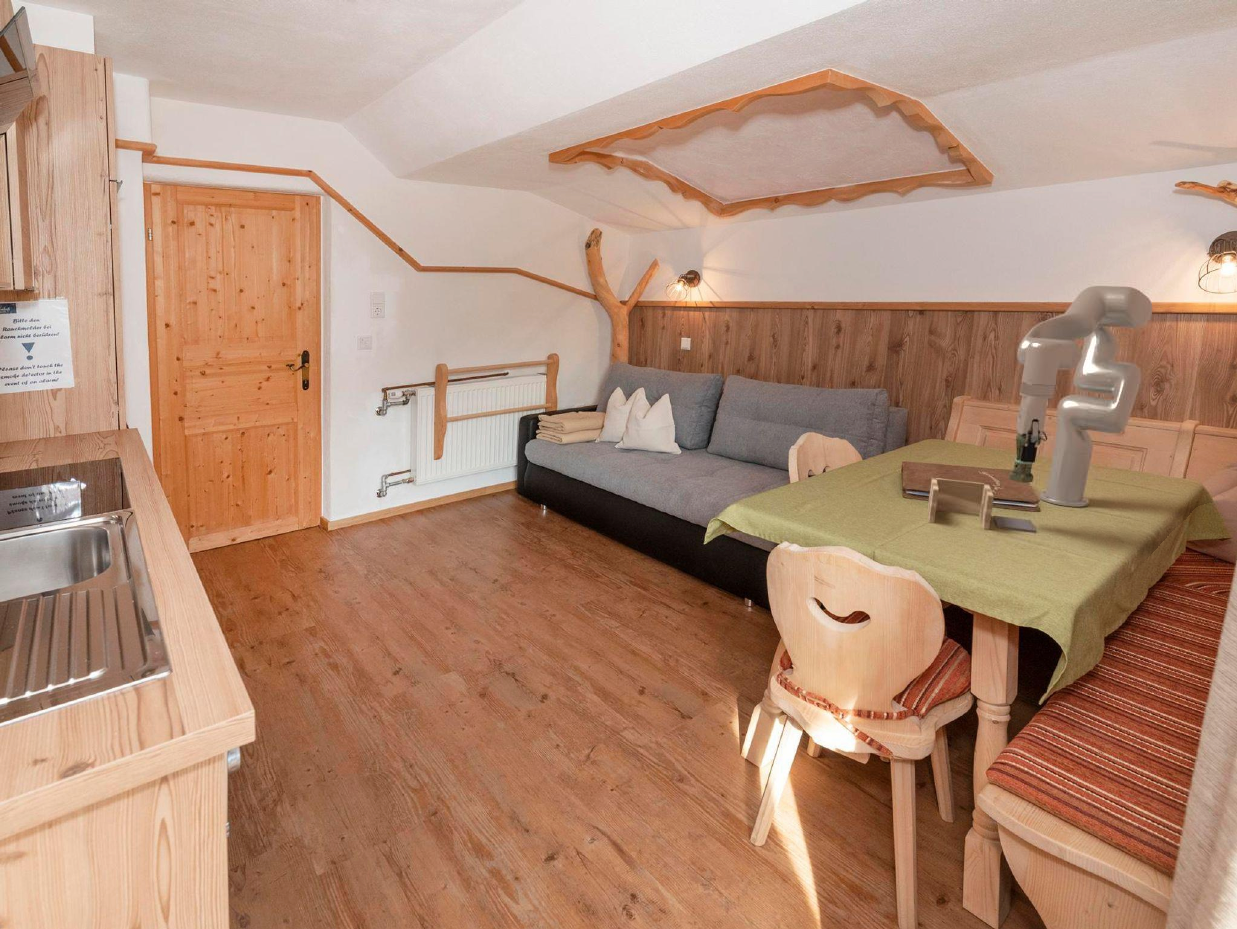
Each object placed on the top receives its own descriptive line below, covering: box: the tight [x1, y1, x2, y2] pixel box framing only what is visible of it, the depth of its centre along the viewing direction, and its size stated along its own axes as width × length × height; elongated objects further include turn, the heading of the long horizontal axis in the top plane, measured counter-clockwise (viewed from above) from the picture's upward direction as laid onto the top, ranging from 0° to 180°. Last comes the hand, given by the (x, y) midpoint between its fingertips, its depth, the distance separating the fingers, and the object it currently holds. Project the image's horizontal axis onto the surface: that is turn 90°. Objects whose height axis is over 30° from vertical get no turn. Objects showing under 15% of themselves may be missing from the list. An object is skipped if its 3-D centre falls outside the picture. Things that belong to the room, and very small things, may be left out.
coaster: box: [993, 515, 1037, 534], centre depth 194 cm, size 9×9×1 cm
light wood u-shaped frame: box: [927, 477, 995, 531], centre depth 198 cm, size 13×14×9 cm
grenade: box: [1008, 425, 1048, 483], centre depth 189 cm, size 7×7×15 cm
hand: (1025, 458), depth 190 cm, fingers closed on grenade, 6 cm apart
